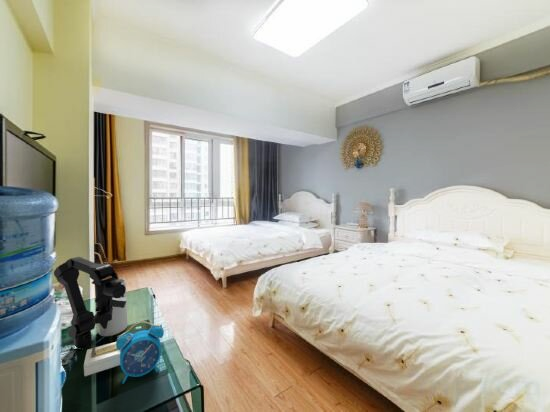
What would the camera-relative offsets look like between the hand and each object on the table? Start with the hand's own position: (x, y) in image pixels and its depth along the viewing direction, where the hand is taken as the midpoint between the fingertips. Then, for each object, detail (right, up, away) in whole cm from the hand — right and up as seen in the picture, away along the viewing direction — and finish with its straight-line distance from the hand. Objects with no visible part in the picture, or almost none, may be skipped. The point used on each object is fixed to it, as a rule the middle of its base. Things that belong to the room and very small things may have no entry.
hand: (105, 328), depth 106 cm
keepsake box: (+4, -12, -4) cm, 13 cm away
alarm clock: (+22, -13, -10) cm, 27 cm away
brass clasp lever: (+5, -7, -4) cm, 9 cm away
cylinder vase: (-9, -11, +19) cm, 24 cm away
